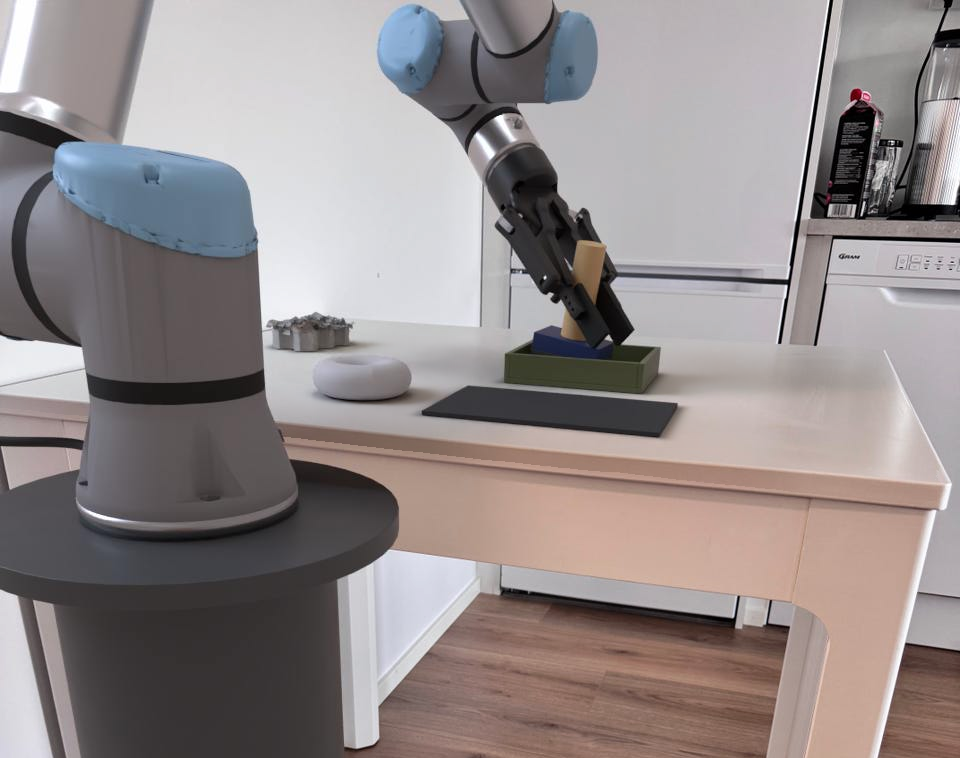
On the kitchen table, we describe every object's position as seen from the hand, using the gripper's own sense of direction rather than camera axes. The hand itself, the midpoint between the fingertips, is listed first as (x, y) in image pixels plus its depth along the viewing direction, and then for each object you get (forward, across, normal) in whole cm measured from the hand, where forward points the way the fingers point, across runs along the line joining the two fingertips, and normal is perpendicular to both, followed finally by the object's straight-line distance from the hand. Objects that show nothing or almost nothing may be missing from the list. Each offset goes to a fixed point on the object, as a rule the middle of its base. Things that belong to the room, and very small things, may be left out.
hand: (612, 339), depth 103 cm
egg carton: (-25, -13, +32) cm, 43 cm away
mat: (+8, -16, -2) cm, 18 cm away
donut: (-4, -26, +11) cm, 29 cm away
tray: (+1, 0, +6) cm, 6 cm away
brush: (-2, 0, +7) cm, 7 cm away
